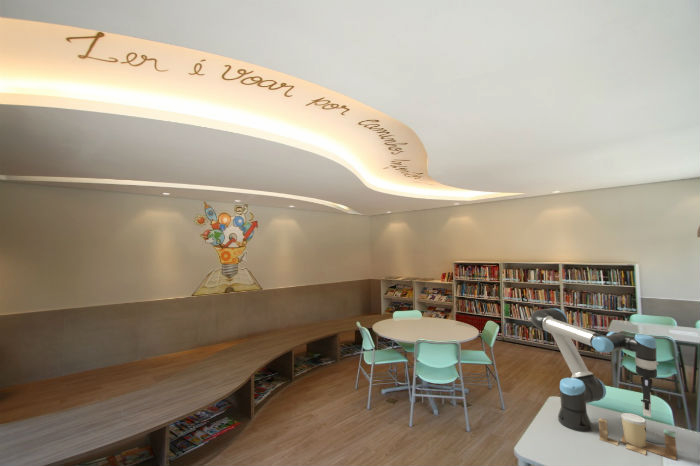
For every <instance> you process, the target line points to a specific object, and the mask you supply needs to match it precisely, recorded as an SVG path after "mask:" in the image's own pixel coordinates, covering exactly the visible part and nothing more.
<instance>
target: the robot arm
mask: <svg viewBox="0 0 700 466" xmlns="http://www.w3.org/2000/svg"><path fill="white" fill-rule="evenodd" d="M530 316H531V317H530V318H531V319H530V320H531V323H532V324H533V325H534V326H535V327H536V328H538V329H539V330H542V331H544V332H548V333H549V334H551V336H552V337H553V339H554V341H555V343H556V344H557V347H558V348H559V351H560V353H561V355H562V356H563V360H564V361H565V363H566V365H567V366H568V368H569V370H570V372H571V376H570V377H565V378H562V379H561V380H560V381H559V390H560V391H559V393H560V394H559V395H560V396H559V397H560V409H559V412H558V415H557V420H558V422H559V423H560V424H561V425H562V426H564V427H566V428H568V429H570V430H572V431H573V430H574V431H578V432H590V431H592V429H593V428H592V427H593V426H592V421H591V419H590V417H589V415H588V411H587V404H589V403H593V402H598V401H601V400H603V399H604V398H605V397H606V395H607V388H606V385H605V384H604V382H603V381H602V380H601V379H599V378H598V377H596V376H595V375H594V373H593V372H591V371H590V370H589V369H588V368H587V366H586V363H585V362H584V360H583V358H582V357H581V355H580V352H579V351H578V349H577V347H576V344H574V342H573V340H575V341H577V342H579V343H582V344H585V345H588V346H589V347H592V348H594V349H595V350H596V351H597V352H599V353H610V352H615V351H619V350H620V351H621V350H626V351H629V352H633V353H635V373H636V374H638V375H639V376H641V377H640V382H641V388H642V399H640V401H641V402H642V416H644V417H649V418H652V410H651V409H652V393H653V389H652V385H653V379H655V378H657V377H658V370H657V366H658V365H659V362H658V361H657V348H658V346H657V341H656V338H655V337H654V336H651V335H650V334H649V335H648V334H644V333H643V334H642V333H637V334H635V336H633V335H628V334H623V333H620V332H618V331H616V332H615V331H609V332H608V333H607V334H606V335H603V334H601V333H597V332H594V331H591V330H588V329H585V328H582V327H579V326H577V325H573V324H570V323H568V317H567V314H566V313H565V312H564V311H563V310H562V309H560V308H556V307H555V308H552V307H549V308H543V309H537V310H534V311H533V312H532V314H531V315H530Z"/></svg>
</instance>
